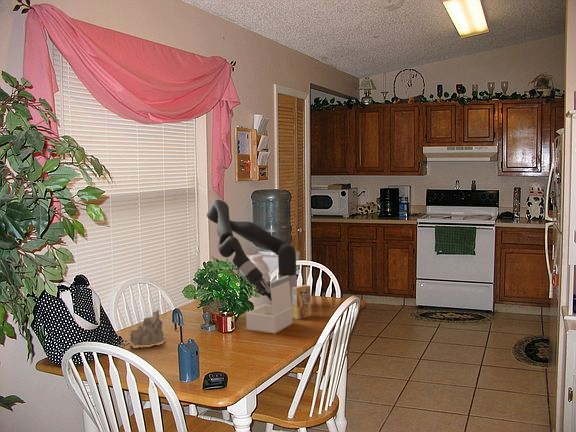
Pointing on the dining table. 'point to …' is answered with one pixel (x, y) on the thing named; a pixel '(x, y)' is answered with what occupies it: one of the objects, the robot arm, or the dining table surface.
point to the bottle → (264, 270)
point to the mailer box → (268, 319)
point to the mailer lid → (280, 295)
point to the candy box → (301, 302)
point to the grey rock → (148, 331)
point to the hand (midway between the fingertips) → (274, 300)
